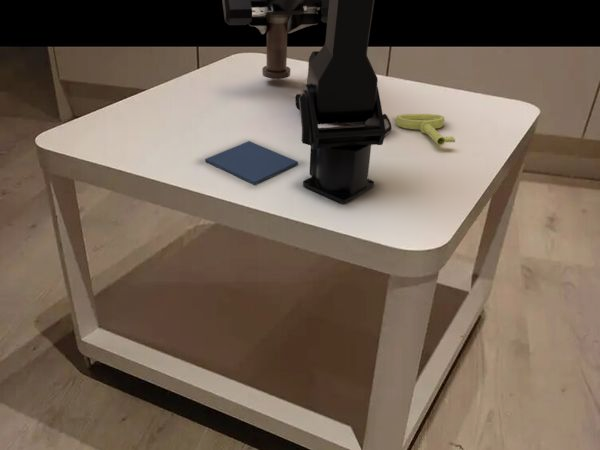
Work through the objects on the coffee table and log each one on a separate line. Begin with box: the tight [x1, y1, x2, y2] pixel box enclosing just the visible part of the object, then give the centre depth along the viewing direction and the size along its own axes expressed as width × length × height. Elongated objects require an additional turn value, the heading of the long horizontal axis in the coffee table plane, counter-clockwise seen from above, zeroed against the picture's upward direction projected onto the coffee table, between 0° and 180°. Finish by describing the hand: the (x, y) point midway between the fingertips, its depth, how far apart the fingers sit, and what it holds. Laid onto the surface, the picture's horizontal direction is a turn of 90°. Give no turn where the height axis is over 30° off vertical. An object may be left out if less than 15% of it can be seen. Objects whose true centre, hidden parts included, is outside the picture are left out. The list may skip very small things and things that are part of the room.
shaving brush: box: [261, 12, 291, 80], centre depth 103 cm, size 5×5×14 cm
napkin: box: [204, 140, 299, 186], centre depth 80 cm, size 9×8×1 cm
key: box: [395, 113, 456, 146], centre depth 90 cm, size 7×12×2 cm, turn 25°
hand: (275, 31), depth 104 cm, fingers closed on shaving brush, 4 cm apart
